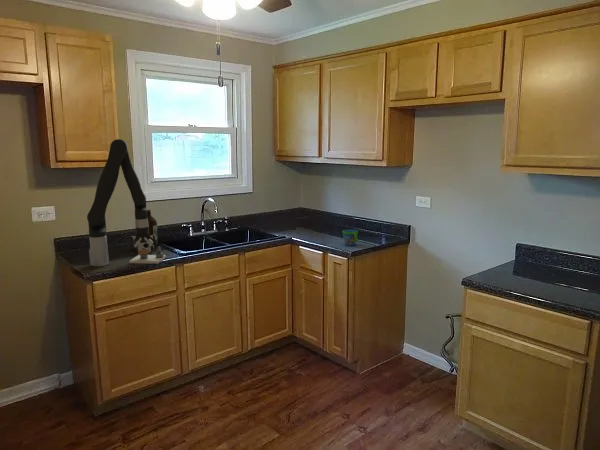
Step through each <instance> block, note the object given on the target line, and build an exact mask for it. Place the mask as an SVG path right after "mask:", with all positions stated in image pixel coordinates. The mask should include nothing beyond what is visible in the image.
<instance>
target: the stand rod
mask: <svg viewBox="0 0 600 450" xmlns="http://www.w3.org/2000/svg"><path fill="white" fill-rule="evenodd" d="M145 248H146V247H144V246H143V248H142V250H145ZM139 255H140V259H147V258H148V255H149V253H146V254H139Z"/></svg>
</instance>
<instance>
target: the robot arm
mask: <svg viewBox="0 0 600 450" xmlns="http://www.w3.org/2000/svg"><path fill="white" fill-rule="evenodd" d="M128 147H129V146H128V144H127V142H126V141H125V140H123V139H120V138H117V139H114V140H112V141H111V143H110V146H109V151H108V156H107V159H106V162H105V165H104V167H103V168H102V170H101V171H102V172H101V173H100V176H99V179H98V182H97V186H96V189H95V194H94V195H95V196H94V199H93V202H92V204H91V207H90V209H89V211H88V213H87V215H86V219H87V222H88V223H87V224H88V235H89V236H88V238H89V239H88V240H89V249H88V254H89V255H88V256H89V265H90V266H93V267H105V266H107V265H109V264H110V260H109V259H110V258H109V249H108V236H107V224H106V223H107V221H106V211H107V208H108V204H109V202H110V200H111V197H112V196H113V193H114V191H115V188H116V186H117V183H118V179H119V174H120V169H121V170H122V174H123V177H124V181H125V183H126V185H127V187H128V190H129V192H130V195H131V197H132V199H131V200H132V202H133V204H134V219H135V220H134V225H135V235H131V236H130V247H133V248H134V252H135V254H138V244H139V242H140V243H146V242H148V243H149V244H150V245H151V252H150V253H153V252H154V248H153V245H156V239H155V235H154V234H153V235H150V234H149V224H148V217H147V210H148V209H147V197H146V195H145V194H144V191H143V189H142V187H141V182H140V179H139V177H138V175H137V172H136V170H135V168H134V166H133V163H132V161H131V160H132V159H131V158H130V154H129V153H130V152H129V148H128ZM150 237H151V238H152V239H153V241H154V243H152V242H151V241H150V240H149V239H150ZM134 240H137V241H136V242H135V244H134Z"/></svg>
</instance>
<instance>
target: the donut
mask: <svg viewBox="0 0 600 450" xmlns="http://www.w3.org/2000/svg"><path fill="white" fill-rule="evenodd" d="M149 240H150V241H151V242H152V243H153V241H152V240H151V239H149ZM146 243H147V244H148V245H149V246H148V247H147V248H148V249H149V253H152V252H151V245H150V244H149V243H148V242H146ZM144 244H145V243H140V242H139V244H138V245H137V250H138V249H141V248H143V247H144V246H143V245H144ZM154 248H155V246H154V245H153V249H154Z"/></svg>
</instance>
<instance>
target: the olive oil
mask: <svg viewBox="0 0 600 450" xmlns="http://www.w3.org/2000/svg"><path fill="white" fill-rule="evenodd" d="M146 210H147V217H148V224H149V234H150V235H153V234H154V235H155V239H156V245H154V247H157V246H158V223H157V219H156V218H155V217H153V216H152V213H151V212H152V211H151V209H146ZM150 239H151V240H152V241H153V239H152V238H151V237H150ZM153 243H154V241H153ZM148 246H149V245H148V244H147V243H145V244H144V245H143V247H145V248H148Z"/></svg>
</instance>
